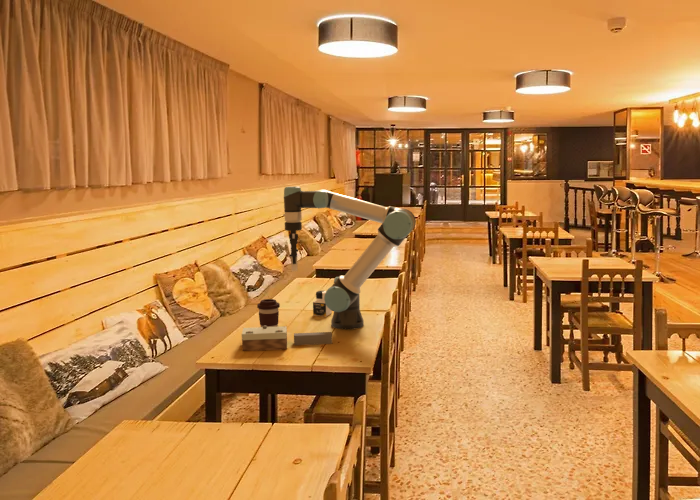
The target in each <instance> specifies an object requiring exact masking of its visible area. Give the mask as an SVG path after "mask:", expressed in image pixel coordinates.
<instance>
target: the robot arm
mask: <svg viewBox="0 0 700 500" xmlns="http://www.w3.org/2000/svg"><path fill="white" fill-rule="evenodd" d="M301 188H302V187H301V186H285V187H284V189H283V208H284V209H283V210H284V212H283V214H282V216H283V217H284V221H285V222H284V230H285V231H286V232H290V234H288V239H289V244H290V254H289V257H290V265H291V267H290V271H291V272H298V271H299V269H298V252H299V249H297V248H298V247H297V246H298V245H297V244H298V238H299V234H298V233H297V232H298V231H299V232H300V231H302V229H303V227H302V225H303V224H302V223H303V222H302V218H303V217H302V216H303V215H302V209H325V208H326V209H329V210H333V211H334V210H335V211H337V212H340V213H345V214H349V215H350V216H351V215H352V216H354V217H358V218H362V219H366V220H368V221H371V222H376V223H378V224H381V225H379V227H378V228H377V235H376V236H375V238H373V240H372V241H371V242H370V244H369V245H368V246H367V247H366V249H364V251H363V252H362V254H361V255H360V256H359V257H358V259H357V260H355V262H354V263H353V265H352V266H351V267H350V268H349V270H348V271H347V272H346V273H345V275H339V276H336V277H335V278H334V280H333V284H332V285H331V286H330V287H329V288H328V289H326V290H325V291H326V293H325V296H324V300H325V304H326V306H327V307H328V308H329V309H330V310H332V312H333V314H332V317H331V322H330V323H331V328H334V329H338V330H357V329H361V328H362V327H364V324H365V323H364V322H365V321H364V319H363V314H362V312H361V309H360V308H361V305H360V302H361V301H360V298H361V297H360V294H361V287H362V286H363V285H364V283H366V281H367V280H368V279H369V277H370V276H371V275H372V273H374V271H375V270H376V269H377V268H378V267H379V266H380V264H381V263H382V262H383V260H384V259H385V258H386V256H388V254H389V253H390V252H391V251H392V249H393V248H394V247H395V248H396V247H400V245H401V244H403V242H404V241H405V239H407V237H408V236H409V234H411V233H412V232H413V231H414V229H415V228H416V225H417V219H416V216H415V215H414V213H413V212H412V211H411V210H409V209H406V208H401V207H396V206H391V205H389V206H384V205H379V204H376V203H372V202H369V201H365V200H362V199H358V198H355V197H352V196H347V195H343V194H339V193H337V192H332V191H330V190H328V189H325V188H322V189H321V188H320V189H317V190H307V191H306V190H302V189H301Z"/></svg>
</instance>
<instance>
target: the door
mask: <svg viewBox="0 0 700 500" xmlns="http://www.w3.org/2000/svg"><path fill="white" fill-rule="evenodd" d="M287 329H288V327H287V326H278V327H267V326H266V325H264V326H263V327H261V326H259V327H257V326H256V327H243V328H242V332H241V341H242V340H261V339H286V338H287V339H288V330H287ZM278 330H280V332H278ZM248 331H251V334H248Z"/></svg>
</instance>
